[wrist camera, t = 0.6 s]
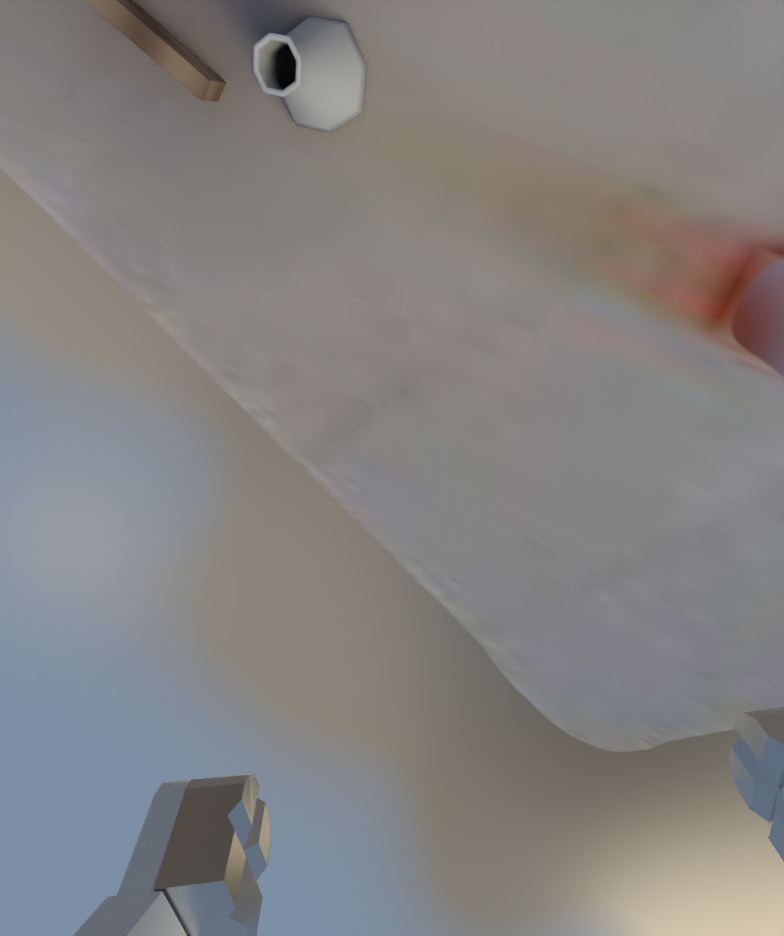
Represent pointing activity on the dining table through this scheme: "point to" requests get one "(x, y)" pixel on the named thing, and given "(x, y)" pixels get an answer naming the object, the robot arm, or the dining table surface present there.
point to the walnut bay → (161, 47)
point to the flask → (314, 72)
